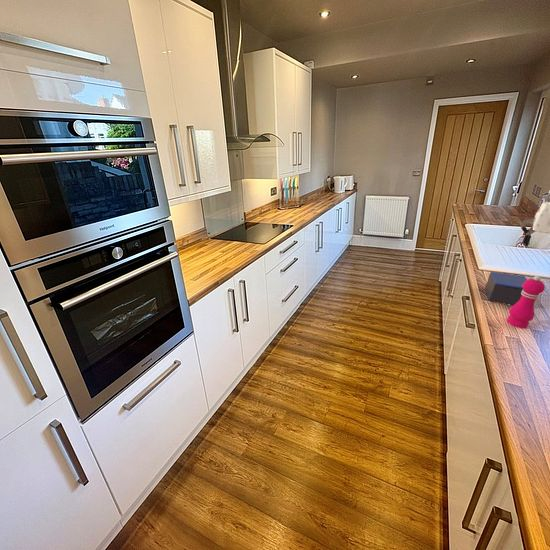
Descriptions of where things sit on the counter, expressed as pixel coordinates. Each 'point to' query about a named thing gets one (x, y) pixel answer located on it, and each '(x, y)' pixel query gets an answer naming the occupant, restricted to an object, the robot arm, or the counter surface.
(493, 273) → the lid
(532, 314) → the pepper mill
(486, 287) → the storage box
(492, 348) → the counter surface
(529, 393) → the counter surface
